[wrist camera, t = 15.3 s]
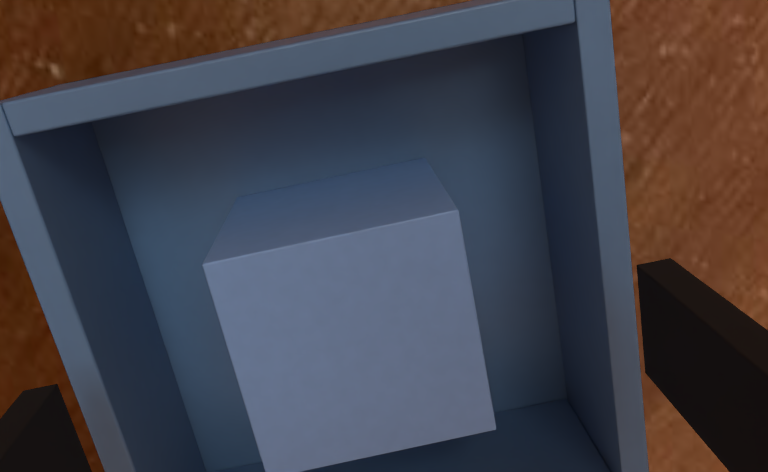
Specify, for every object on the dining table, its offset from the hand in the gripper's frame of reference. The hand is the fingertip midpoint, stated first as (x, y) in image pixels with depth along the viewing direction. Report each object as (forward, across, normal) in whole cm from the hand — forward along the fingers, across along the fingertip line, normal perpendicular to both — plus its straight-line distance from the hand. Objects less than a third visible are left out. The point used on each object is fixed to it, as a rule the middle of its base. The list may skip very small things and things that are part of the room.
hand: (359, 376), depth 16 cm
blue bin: (+8, 0, 0) cm, 8 cm away
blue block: (+7, 0, 0) cm, 7 cm away
